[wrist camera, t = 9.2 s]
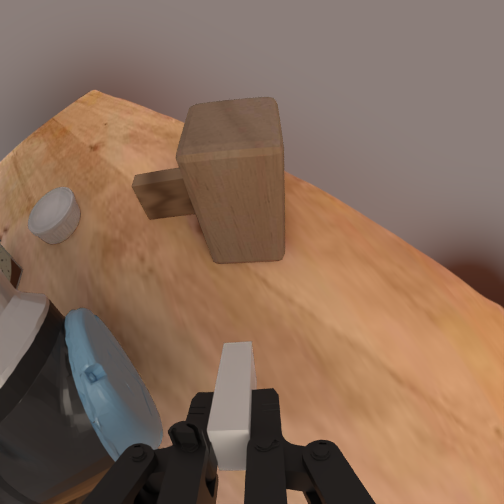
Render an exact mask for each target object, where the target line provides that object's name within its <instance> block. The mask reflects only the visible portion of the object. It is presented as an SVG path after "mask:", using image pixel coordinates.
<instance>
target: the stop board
mask: <svg viewBox="0 0 504 504" xmlns="http://www.w3.org/2000/svg"><path fill="white" fill-rule="evenodd" d="M132 188H133V190H134V192H135V194H136V196H137V198H138V200H139V201H140V203H141V205H142V207H143V209H144V211H145V212H146V214H147V216H148V218H149V220H151V219H158V218H166V217H174V216H182V215H191V214H196V213H195V210H194V208H193V205H192V202H191V199H190V197H189V194H188V191H187V188H186V185H185V183H184V180H183V177H182V174H181V171H180V169H179V168H174V169H168V170H162V171H156V172H150V173H144V174H139V175H135V177H134V180H133V184H132Z"/></svg>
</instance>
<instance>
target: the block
mask: <svg viewBox="0 0 504 504" xmlns="http://www.w3.org/2000/svg"><path fill="white" fill-rule="evenodd" d="M176 160H177V163H178V166H179V169H180V171H181V174H182V177H183V180H184V183H185V185H186V188H187V191H188V194H189V197H190V199H191V202H192V205H193V208H194V210H195V213H196V216H197V218H198V221H199V224H200V226H201V229H202V232H203V234H204V237H205V240H206V242H207V245H208V248H209V250H210V253H211V255H212V258H213V260H214V262H215V263H219V264H224V263H245V262H265V261H279V260H281V259H282V258H283V256H284V254H285V188H284V146H283V138H282V131H281V124H280V117H279V111H278V105H277V103H276V101H275V100H274V98H270V97H259V98H245V99H234V100H225V101H216V102H208V103H200V104H196V105H193V106H191V107H190V108H189V111H188V114H187V118H186V121H185V124H184V128H183V131H182V134H181V138H180V141H179V145H178V149H177V153H176Z"/></svg>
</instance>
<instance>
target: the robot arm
mask: <svg viewBox="0 0 504 504" xmlns="http://www.w3.org/2000/svg"><path fill="white" fill-rule="evenodd" d="M256 383H257V380H256V373H255V364H254V356H253V348H252V341H249V342H235V343H224V345H223V350H222V355H221V360H220V365H219V370H218V375H217V380H216V386H215V391H214V392H198V393H197V394H196V395H195V397H194V398H193V399H192V401H191V405H190V408H189V412H188V415H187V419H186V421H181V422H178V423H175V424H174V425H173V426H171V427H170V428H169V430H168V434H169V436H170V438H171V441H172V443H173V445H172V446H170V447H167V448H162V449H158V447H159V446H160V444H161V442H162V437H163V428H162V422H161V419H160V416H159V413H158V411H157V408H156V406H155V404H154V402H153V399H152V397H151V395H150V394H149V392H148V390H147V388H146V386H145V384H144V383H143V381H142V379H141V377H140V376H139V374H138V372H137V371H136V369H135V367H134V366H133V364H132V362H131V361H130V359H129V358H128V356H127V355H126V353H125V351H124V350H123V349H122V347H121V346H120V344H119V343H118V341H117V340H116V338H115V337H114V336H113V334H112V333H111V332H110V330H109V329H108V328H107V326H106V325H105V324H104V323H103V322H102V321H101V319H100V318H99V317H97V316H96V315H94V314H93V313H92V312H91V311H90V310H88V309H86V308H79V309H77V310H71V311H70V312H69V313H68V314H67V315H66V317H65V316H63V315H62V314H61V313H60V312H59V310H58V309H57V308H56V307H55V306H54V304H53V303H52V302H51V301H50V300H49V299H48V297H47V296H46V295H45V294H40V293H28V292H21V291H19V290H16V289H15V288H14V287H13V286H12V284H11V283H10V282H9V280H8V279H7V278H6V276H5V275H4V273H3V272H2V271H1V269H0V504H216V497H217V489H218V475H217V465H218V467H219V470H246V476H245V497H244V504H287V494H286V489H291V490H297V491H303V494H304V496H305V498H306V500H307V502H308V504H376V503H375V502H374V500H373V499H372V498H371V496H370V495H369V493H368V492H367V490H366V489H365V487H364V486H363V484H362V483H361V481H360V480H359V478H358V477H357V475H356V474H355V472H354V471H353V469H352V468H351V466H350V465H349V463H348V462H347V460H346V459H345V457H344V456H343V454H342V452H341V451H340V449H339V448H338V446H336V445H335V444H334V443H333V442H330V441H328V440H317V441H313V442H311V443H309V444H308V445H307V446H299V445H294V444H291V443H289V442H288V441H286V440H285V439H284V437H283V435H282V430H281V418H280V406H279V395H278V394H277V392H276V391H275V390H274V388H270V389H257V390H256Z"/></svg>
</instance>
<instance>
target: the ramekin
mask: <svg viewBox="0 0 504 504" xmlns="http://www.w3.org/2000/svg"><path fill="white" fill-rule="evenodd" d="M79 220H80V209H79V207H78V204H77V202H76V200H75V196H74V194H73V192H72V191H71V190H70V189H69V188H67V187H59V188H56V189H53V190H51V191H50V192H48V193H47V194H45V195H44V196H43V197H42V198H41V199H40V200H39V201H38V202H37V203H36V205H35V206H34V208H33V209H32V211H31V213H30V216H29V220H28V228H29V230H30V231H31V232H32V233H33V234H34V235H36V236H38V237H39V238H41V239H42V240H43V241H45V242H47V243H49V244H57V243H60V242H62V241H64V240H65V239H67V238H68V237H69V236H70V235H71V234H72V233H73V232H74V230H75V229H76V227H77V225H78V223H79Z"/></svg>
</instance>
